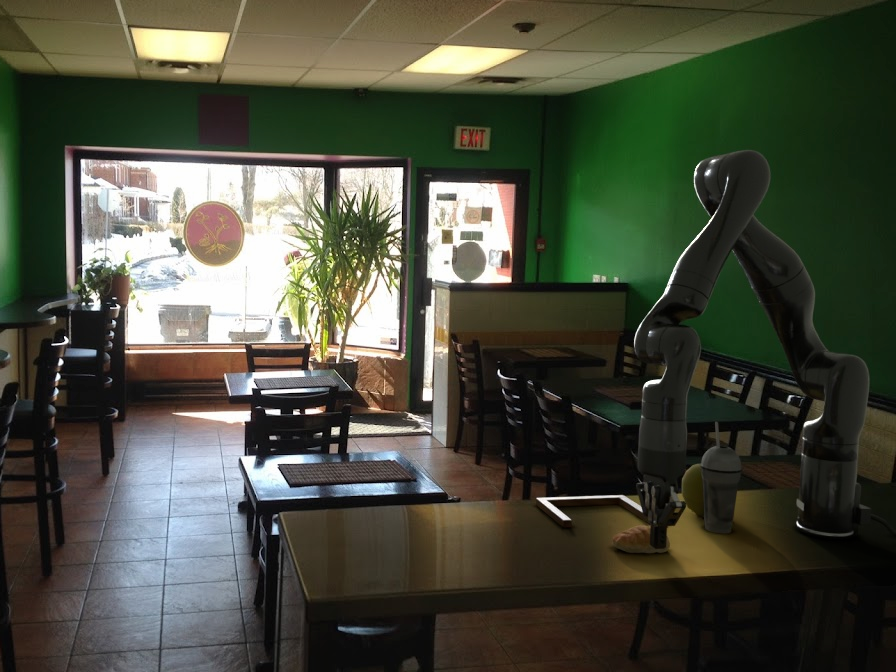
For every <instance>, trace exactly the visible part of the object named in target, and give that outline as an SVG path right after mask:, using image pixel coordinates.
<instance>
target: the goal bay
mask: <svg viewBox="0 0 896 672" xmlns="http://www.w3.org/2000/svg"><path fill="white" fill-rule="evenodd" d="M574 499H578V500H574ZM555 500H558V501H555ZM535 505H536V506H537V507H538V508H539V509H540V510H542V512H544V513H545V514H546V515H548V516H549V517H550V518H551V519H553V521H555V522H556V523H557V524H559V526H561V527H562V528H572V526H573V525H572V522H573V520H572V519H571V518H570V517H569V516H567V514H565V513H564V512H562V511H561V509H558V508H557V507H572V506H573V507H576V506H578V507H579V506H605V505H620V506H621V507H623V508H624V509H625V510H627V511H629V512H631V513H632V514H633V515H635V516H637V517H638V518H640V519H641V520H643V521H644V522H646V523H647V524H649V522H648V517H644V515H643V511H642V507H641V504H639V503H636V502H634V501H633V500H632V499H630V498H628V497H627V496H625V495H624V494H617V495H615V494H614V495H613V494H612V495H585V496H555V497H536V498H535Z"/></svg>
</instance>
